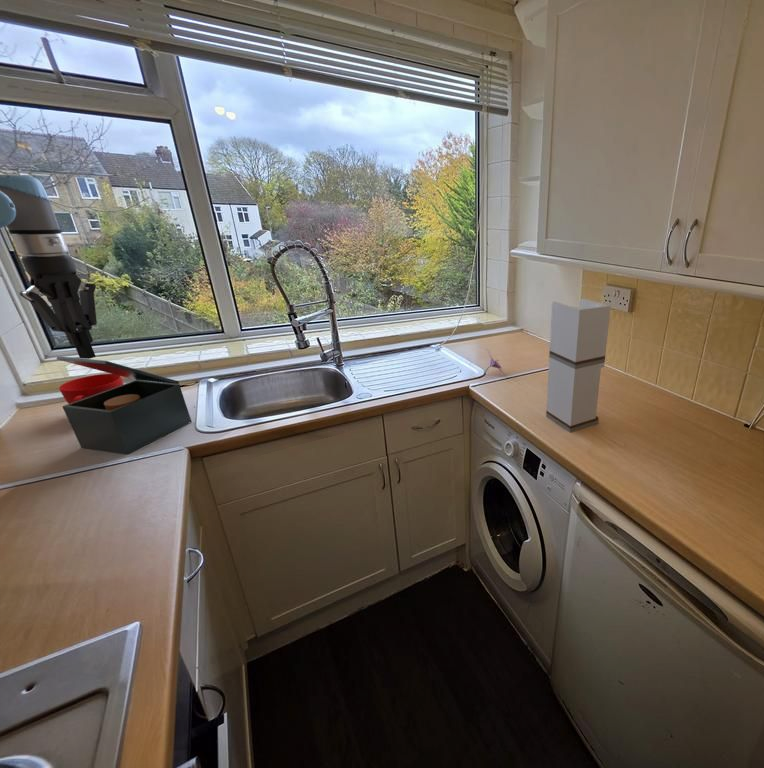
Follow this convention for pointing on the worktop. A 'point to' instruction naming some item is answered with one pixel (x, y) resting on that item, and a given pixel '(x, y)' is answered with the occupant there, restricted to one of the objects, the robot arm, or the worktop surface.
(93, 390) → the red bowl
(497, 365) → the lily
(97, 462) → the worktop surface
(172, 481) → the worktop surface
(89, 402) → the bin
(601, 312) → the white tall square block
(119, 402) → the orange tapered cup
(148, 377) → the bin lid
